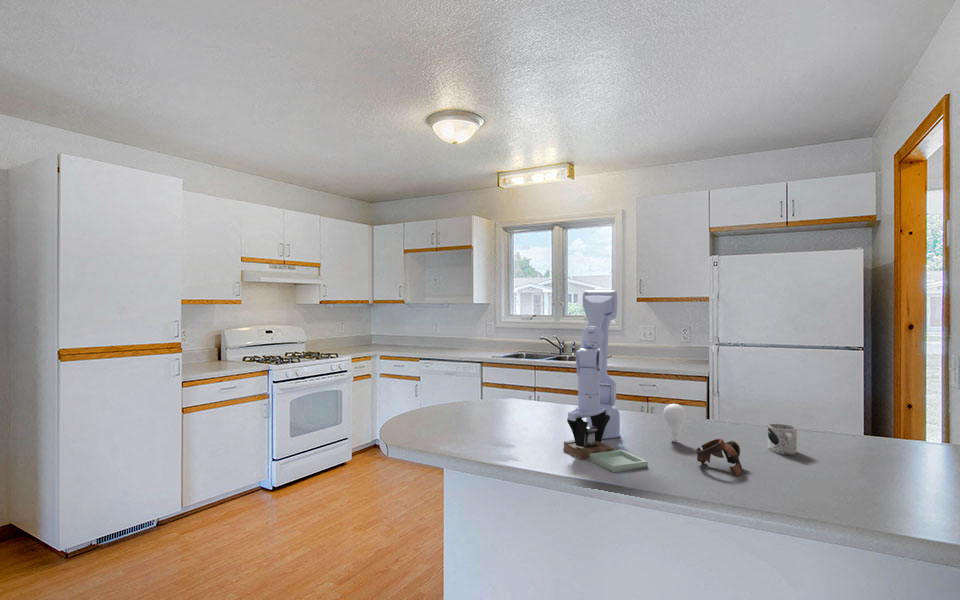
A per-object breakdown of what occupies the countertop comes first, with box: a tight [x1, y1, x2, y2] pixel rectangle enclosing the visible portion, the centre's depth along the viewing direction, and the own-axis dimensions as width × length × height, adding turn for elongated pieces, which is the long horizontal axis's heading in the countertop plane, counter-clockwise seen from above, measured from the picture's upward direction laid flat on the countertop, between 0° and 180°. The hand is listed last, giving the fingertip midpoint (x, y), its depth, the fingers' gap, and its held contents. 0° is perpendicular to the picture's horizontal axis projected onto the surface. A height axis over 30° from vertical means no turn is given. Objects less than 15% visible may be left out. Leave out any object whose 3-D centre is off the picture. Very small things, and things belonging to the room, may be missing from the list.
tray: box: [589, 449, 649, 473], centre depth 122 cm, size 10×10×2 cm
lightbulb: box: [663, 403, 687, 443], centre depth 141 cm, size 6×6×11 cm
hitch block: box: [563, 439, 616, 461], centre depth 131 cm, size 10×9×2 cm
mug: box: [767, 423, 798, 456], centre depth 131 cm, size 10×7×7 cm
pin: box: [583, 425, 597, 448], centre depth 131 cm, size 4×4×7 cm
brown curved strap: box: [694, 438, 744, 477], centre depth 119 cm, size 12×10×8 cm
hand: (588, 443), depth 131 cm, fingers open, 7 cm apart
